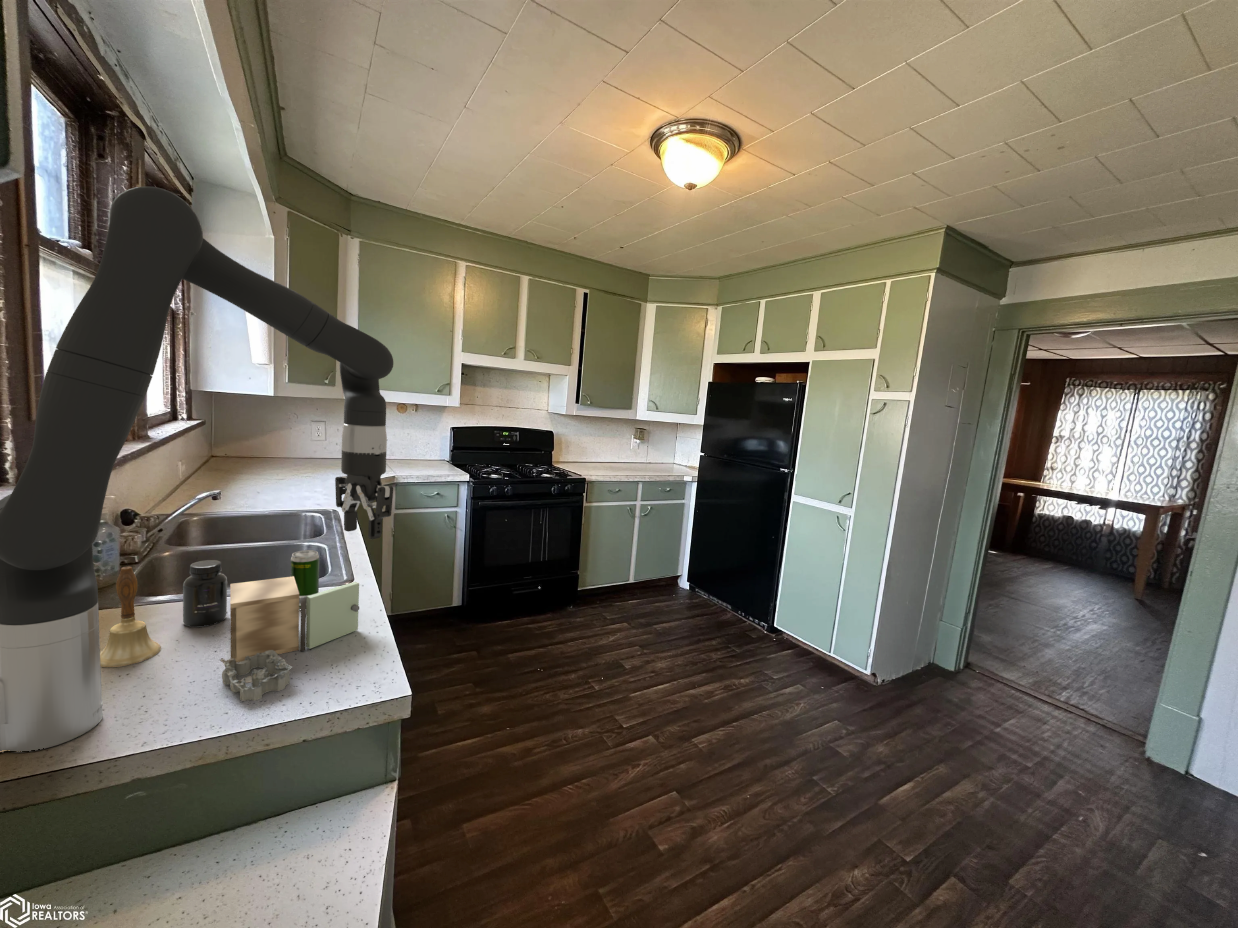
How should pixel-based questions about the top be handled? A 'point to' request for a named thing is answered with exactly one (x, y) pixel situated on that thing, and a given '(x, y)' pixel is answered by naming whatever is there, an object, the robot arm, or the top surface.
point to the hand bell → (128, 629)
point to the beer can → (305, 572)
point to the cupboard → (266, 617)
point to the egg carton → (257, 675)
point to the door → (331, 614)
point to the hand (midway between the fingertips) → (362, 534)
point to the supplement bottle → (204, 594)
